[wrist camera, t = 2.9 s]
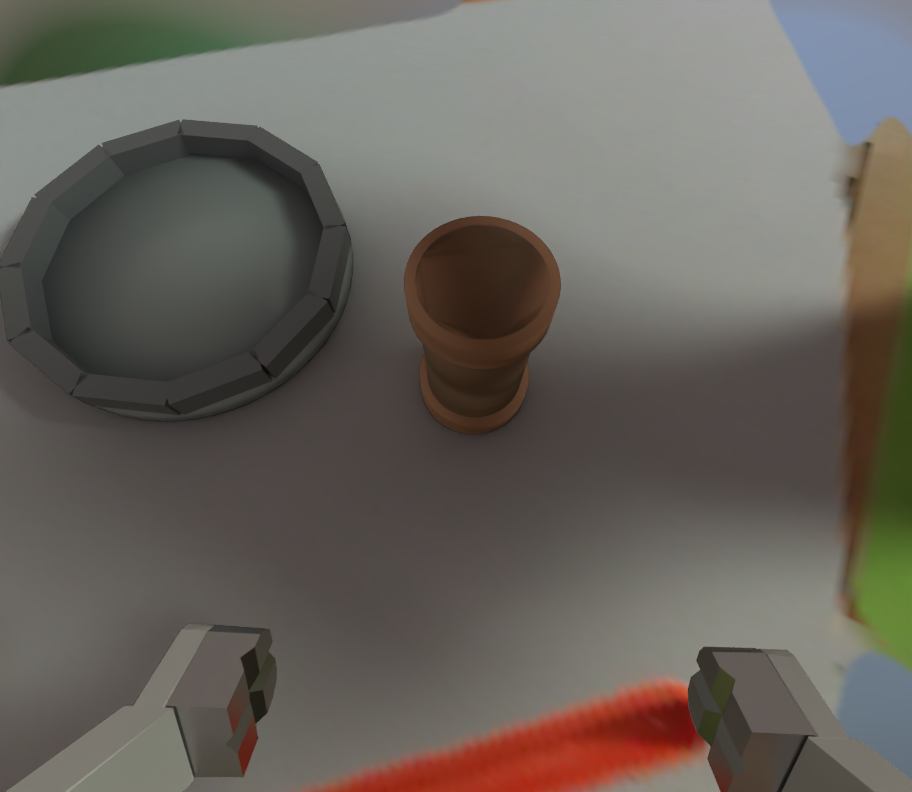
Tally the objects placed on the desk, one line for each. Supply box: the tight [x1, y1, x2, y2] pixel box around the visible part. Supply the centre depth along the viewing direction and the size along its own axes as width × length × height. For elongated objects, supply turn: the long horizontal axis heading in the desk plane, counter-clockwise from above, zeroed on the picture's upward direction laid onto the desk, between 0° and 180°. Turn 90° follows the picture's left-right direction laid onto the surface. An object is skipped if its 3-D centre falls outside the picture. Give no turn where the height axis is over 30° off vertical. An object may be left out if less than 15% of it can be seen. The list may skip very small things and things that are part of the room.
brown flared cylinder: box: [404, 216, 561, 434], centre depth 23 cm, size 6×6×10 cm
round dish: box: [0, 120, 353, 421], centre depth 29 cm, size 18×18×2 cm
